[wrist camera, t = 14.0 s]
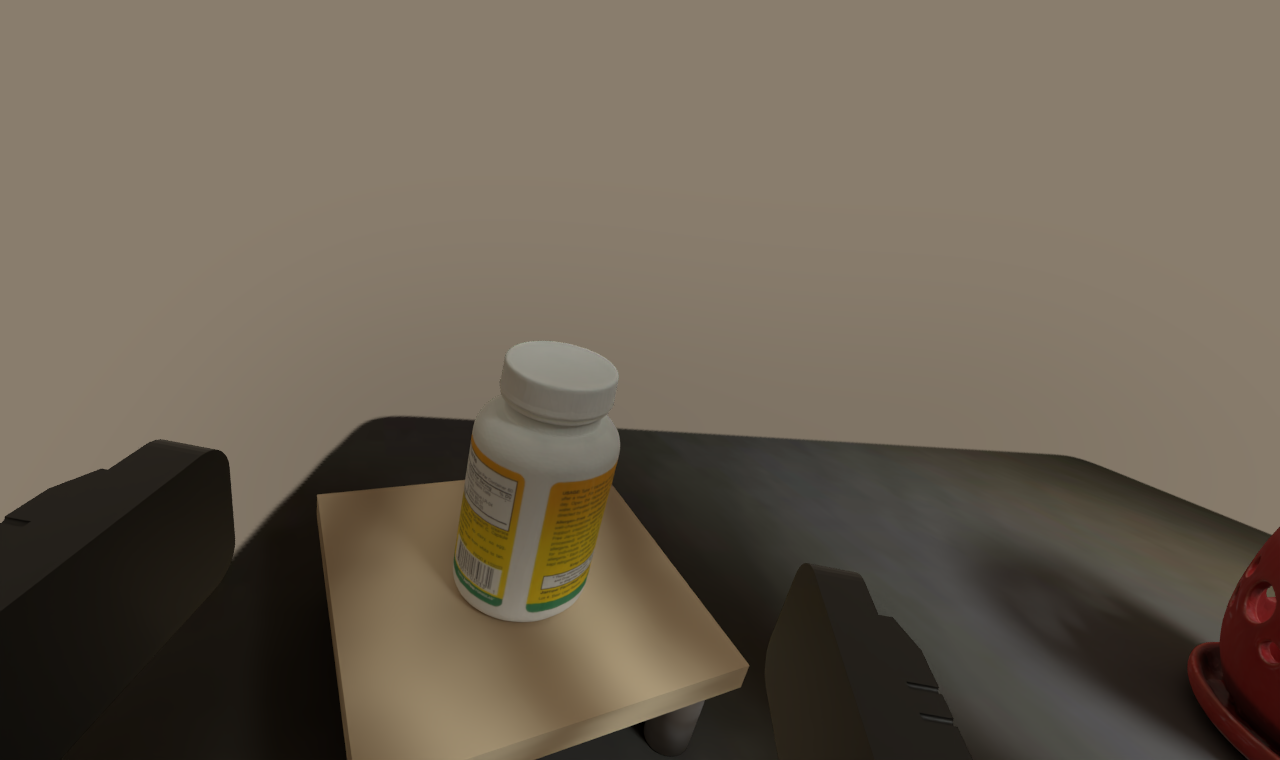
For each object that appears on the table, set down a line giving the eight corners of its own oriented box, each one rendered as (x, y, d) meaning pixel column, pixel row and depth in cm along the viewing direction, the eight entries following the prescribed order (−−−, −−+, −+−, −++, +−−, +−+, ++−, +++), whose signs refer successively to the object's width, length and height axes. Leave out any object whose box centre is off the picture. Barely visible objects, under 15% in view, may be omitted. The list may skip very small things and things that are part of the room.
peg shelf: (581, 540, 37) (598, 466, 35) (714, 753, 26) (749, 665, 24) (315, 584, 30) (317, 494, 28) (349, 903, 19) (356, 795, 17)
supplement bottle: (434, 615, 23) (464, 378, 19) (469, 524, 28) (498, 321, 24) (581, 638, 24) (638, 411, 20) (589, 545, 29) (636, 350, 25)
